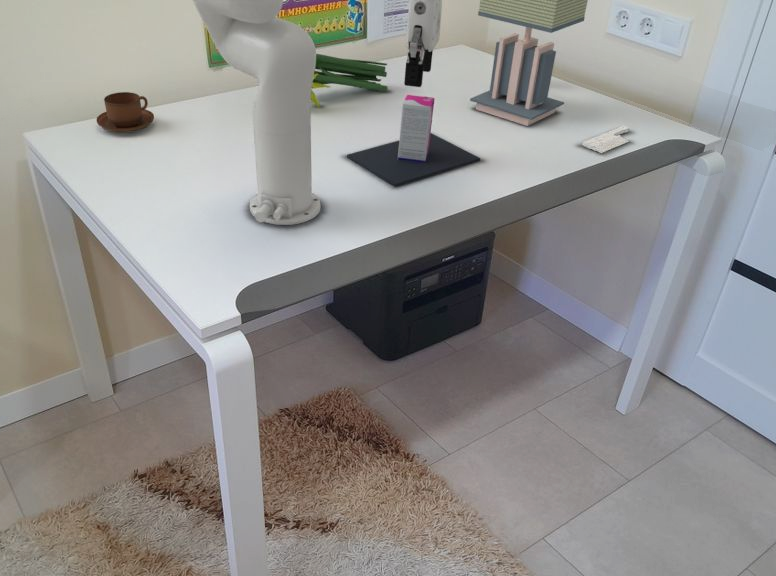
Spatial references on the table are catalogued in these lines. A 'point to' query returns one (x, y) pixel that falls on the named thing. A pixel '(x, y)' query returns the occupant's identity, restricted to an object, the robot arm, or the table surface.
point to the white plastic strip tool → (607, 140)
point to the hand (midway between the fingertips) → (417, 78)
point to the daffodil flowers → (355, 69)
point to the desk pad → (402, 172)
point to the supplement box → (415, 128)
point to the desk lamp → (525, 58)
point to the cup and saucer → (125, 113)
